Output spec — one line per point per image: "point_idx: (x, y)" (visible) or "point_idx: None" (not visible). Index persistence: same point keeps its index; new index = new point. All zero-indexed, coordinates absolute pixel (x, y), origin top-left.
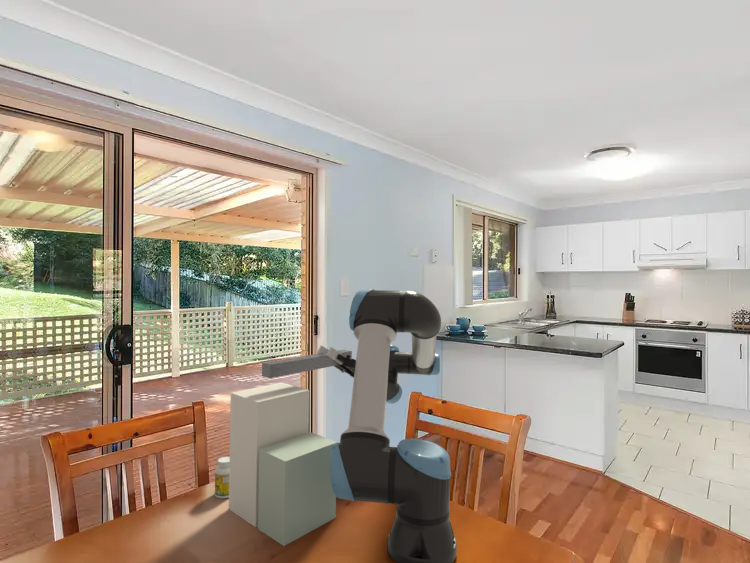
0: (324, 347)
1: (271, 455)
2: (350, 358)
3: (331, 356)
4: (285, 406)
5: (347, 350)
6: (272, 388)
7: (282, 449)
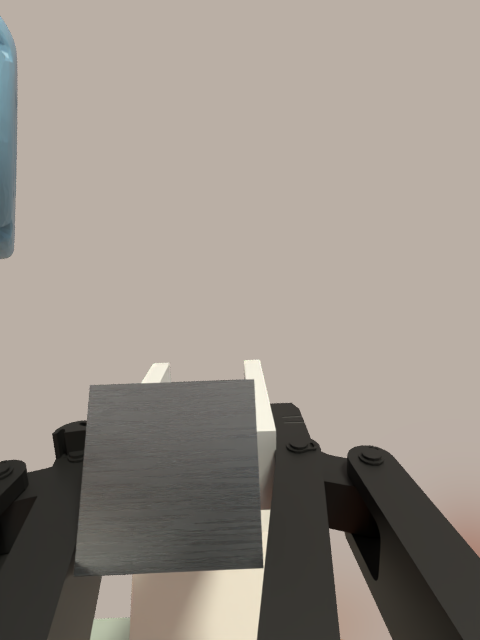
0: (244, 369)
1: (114, 619)
2: (91, 495)
3: None
4: None
5: (171, 383)
6: None
7: (109, 637)
